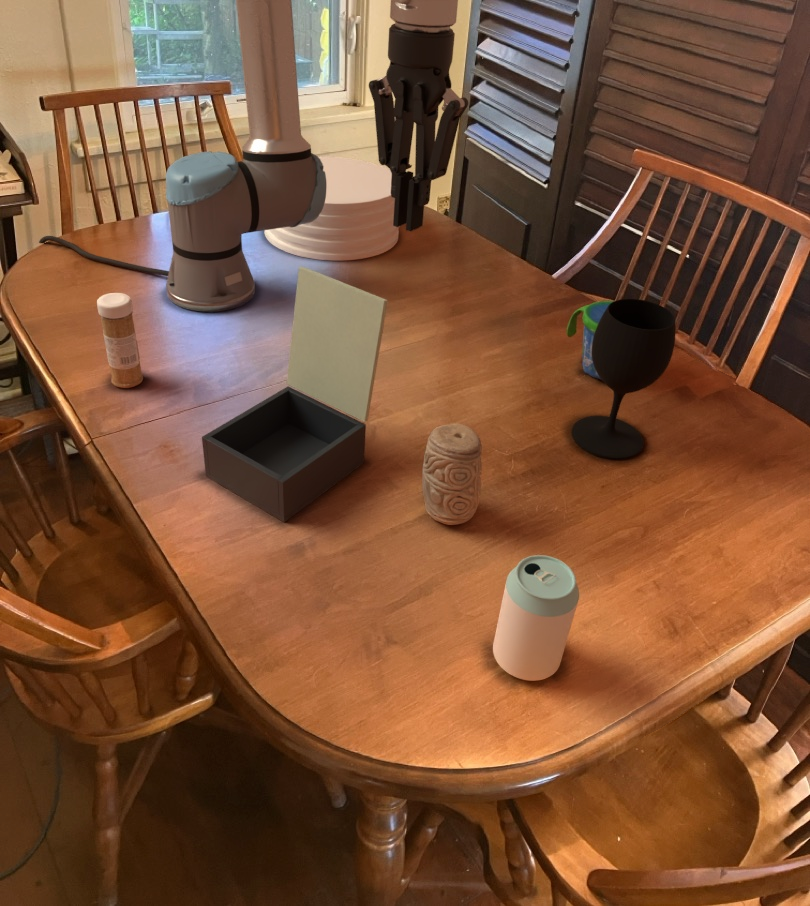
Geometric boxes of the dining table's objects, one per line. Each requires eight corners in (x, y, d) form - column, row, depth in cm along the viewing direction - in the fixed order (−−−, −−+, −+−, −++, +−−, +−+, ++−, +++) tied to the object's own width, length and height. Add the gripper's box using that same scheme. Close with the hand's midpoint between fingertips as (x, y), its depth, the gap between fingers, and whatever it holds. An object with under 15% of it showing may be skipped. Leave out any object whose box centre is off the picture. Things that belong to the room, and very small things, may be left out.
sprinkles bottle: (141, 371, 121) (129, 290, 113) (144, 387, 118) (132, 304, 110) (110, 375, 120) (95, 293, 112) (112, 391, 117) (97, 307, 108)
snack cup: (546, 359, 133) (557, 303, 126) (588, 342, 138) (600, 288, 132) (621, 403, 123) (637, 345, 117) (662, 383, 129) (679, 327, 123)
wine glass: (601, 467, 110) (636, 339, 98) (556, 426, 117) (584, 302, 105) (658, 450, 114) (699, 325, 102) (612, 411, 121) (645, 290, 109)
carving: (433, 488, 104) (442, 412, 97) (485, 510, 101) (498, 433, 94) (408, 515, 99) (416, 437, 92) (462, 539, 97) (474, 461, 89)
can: (489, 677, 81) (506, 596, 74) (494, 625, 86) (511, 544, 79) (559, 690, 80) (583, 609, 73) (560, 636, 86) (582, 556, 78)
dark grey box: (284, 522, 97) (283, 482, 93) (205, 476, 103) (201, 436, 99) (364, 462, 107) (366, 424, 104) (288, 423, 113) (287, 386, 109)
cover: (384, 301, 95) (388, 300, 96) (298, 266, 101) (302, 266, 102) (364, 422, 103) (367, 421, 104) (286, 384, 109) (289, 382, 109)
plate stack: (368, 271, 155) (370, 213, 148) (239, 243, 161) (236, 186, 155) (416, 223, 176) (420, 171, 169) (301, 200, 183) (300, 148, 176)
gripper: (352, 18, 92) (347, 218, 106) (457, 40, 85) (437, 250, 100) (391, 12, 97) (381, 204, 111) (493, 32, 90) (469, 233, 105)
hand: (407, 225), depth 105 cm, fingers closed
